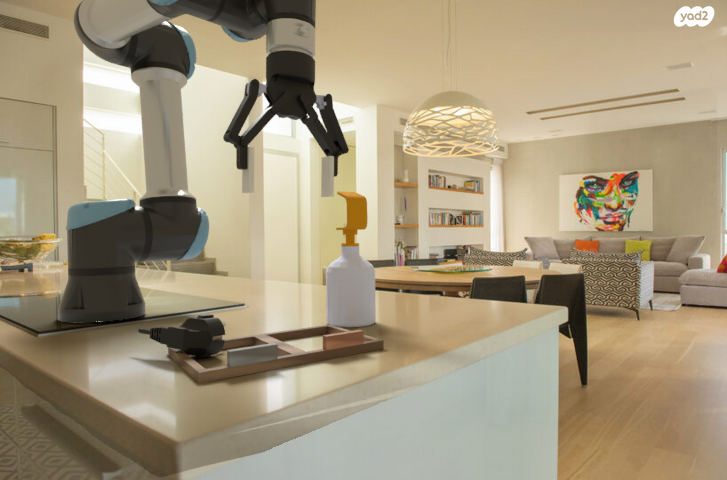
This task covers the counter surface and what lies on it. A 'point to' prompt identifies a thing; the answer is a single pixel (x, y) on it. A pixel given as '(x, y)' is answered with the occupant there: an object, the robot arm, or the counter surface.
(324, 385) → the counter surface
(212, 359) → the counter surface
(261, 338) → the strip
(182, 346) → the power plug
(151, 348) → the counter surface
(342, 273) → the soap bottle
